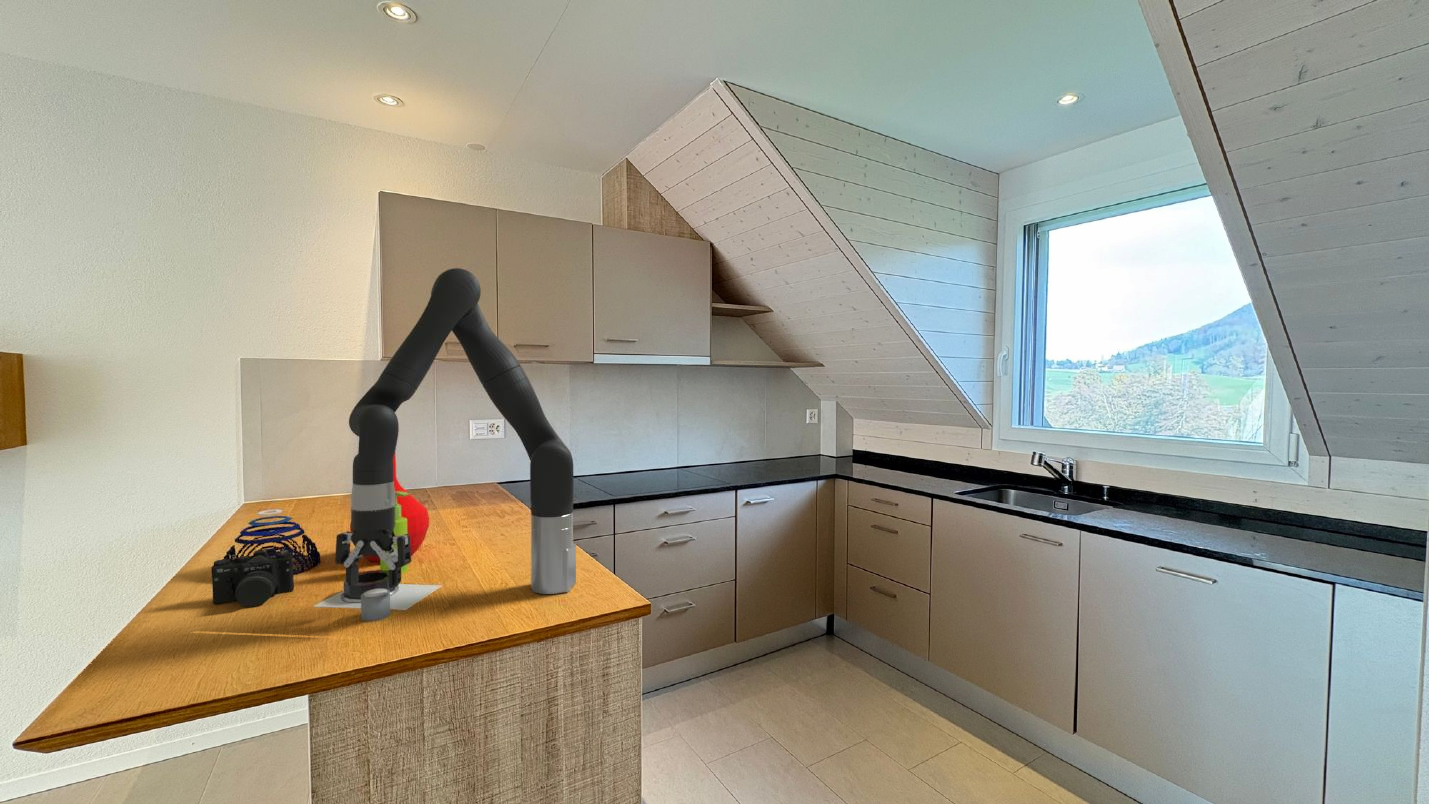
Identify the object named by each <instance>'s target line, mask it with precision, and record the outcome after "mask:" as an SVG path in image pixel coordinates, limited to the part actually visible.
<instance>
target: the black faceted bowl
mask: <svg viewBox="0 0 1429 804" xmlns="http://www.w3.org/2000/svg"><path fill="white" fill-rule="evenodd" d="M373 589H387V590H389V591H390V596H392V595H394V594H395V593H397V592H398V591H399V586H396V587H395V588H389V571H387V570H369V571H364V572H359V582H358V583H357V584H356V585H354V586H348V583H347V582H346V578H345V579H344V581H343V590H344V592H343V593H342V594H341V600H342V601H344V602H348V603H361V595H362V594H363V593H365V592H367V591H369V590H373Z"/></svg>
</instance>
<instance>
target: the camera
mask: <svg viewBox="0 0 1429 804" xmlns="http://www.w3.org/2000/svg"><path fill="white" fill-rule="evenodd" d="M279 551H280V550H279ZM236 555H237V554H236ZM236 555H232V559H224V558H222V559H217V560H216V561H214V562H213V565H212V567H211V571H210V572H211V582H212V583H211V584H212V587H211V588H212V604H213V605H221V604H230V603H234V602H238V604H239V605H241V606H244V607H247V608H256V607H258V606H261V605H263V604H265V603H266V602H267V601H268V600H270V598H274V597H275V596H276V595H281V594H287V593H293V592H294V588H295V579H294V578H295V575H293V568H294V564H293V562H294V561H293V560H294V558H293V556H292V552H288V550H283V551H280V553H278V554H277V555H276V556H271V557H269V556H268V553H267V550H266V549H264V550H256V549H255V550H254V551H253V552H252V555H253V558H251V556H252V555H249V556H246V555H244V556H242V557H240V556H239V558H236Z"/></svg>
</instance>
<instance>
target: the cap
mask: <svg viewBox="0 0 1429 804" xmlns="http://www.w3.org/2000/svg"><path fill="white" fill-rule="evenodd" d="M360 612H361V613H360V615H361V616H360V618H361V621H363V622H371V623H372V622H378V621H382V620H384V619H387V618H389V617H390V615H391V610H390V591H389V590H387V589H373V590H369V591H367V592H365V593H363V594H362V595H361V608H360Z"/></svg>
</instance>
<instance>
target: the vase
mask: <svg viewBox="0 0 1429 804" xmlns="http://www.w3.org/2000/svg"><path fill="white" fill-rule="evenodd" d="M396 457H397V455H396V453H395V454H394V458H393V463H394V488H395V491H401V492H406V493H409V492H408V491H407V490H406V489H405V488H404V487H403V486H402V485H401V484H400V482H399V480H398V478H397V459H396ZM397 504H399V505H401V517H403V518H407V534H409V535H410V545H411V557H412V556H413V555H414V554H415V553H416V552H417V551H418V550H419V548H420V547H421V545H422V544H423V542H424V541H425V538H426V536H427V533H428V530H429V527H430V516H429V512H428V509H427V507H425V506H424V505H423V504H422V503H420V502H419V501H418V500H417V499H416V498H415V497H414V496H413V495H412V494H410V495H408V496H405V497H402V496H397ZM349 524H350V526H349V529H350V530H349V532H350V533H353V530H352V529H351V522H350V523H349ZM364 558H366V559H367V560H368V561H370V562H372V563H380V557H372V556H367V557H364Z"/></svg>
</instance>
